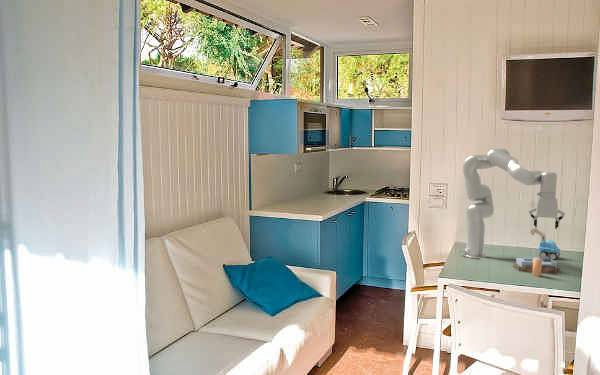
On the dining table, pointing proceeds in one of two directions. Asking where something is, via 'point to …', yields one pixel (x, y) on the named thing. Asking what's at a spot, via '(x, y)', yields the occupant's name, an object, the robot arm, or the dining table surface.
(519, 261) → the pale blue peg socket
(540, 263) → the tail peg
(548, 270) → the cradle
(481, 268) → the dining table surface
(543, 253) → the toy excavator
